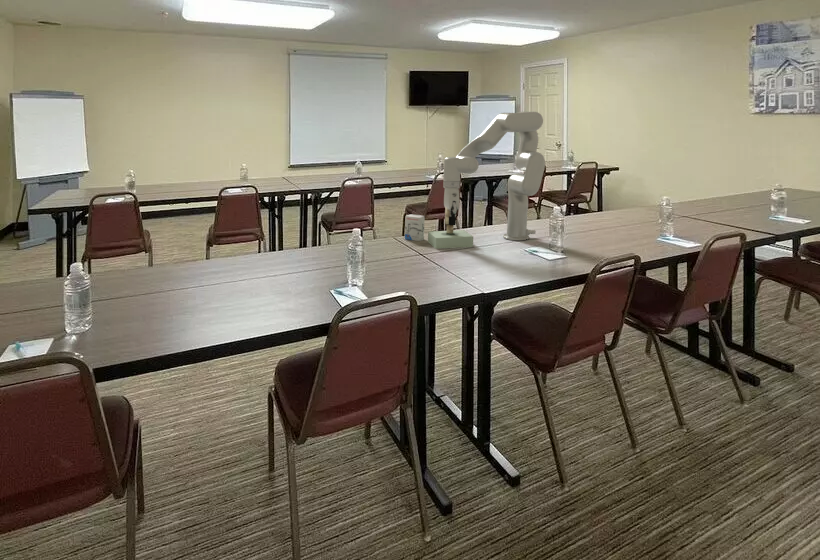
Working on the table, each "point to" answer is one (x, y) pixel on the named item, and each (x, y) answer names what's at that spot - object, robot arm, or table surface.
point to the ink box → (414, 227)
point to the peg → (447, 215)
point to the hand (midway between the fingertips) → (450, 223)
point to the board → (450, 239)
